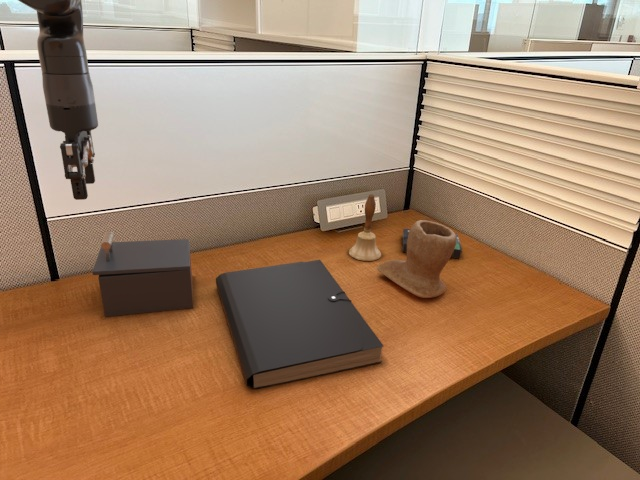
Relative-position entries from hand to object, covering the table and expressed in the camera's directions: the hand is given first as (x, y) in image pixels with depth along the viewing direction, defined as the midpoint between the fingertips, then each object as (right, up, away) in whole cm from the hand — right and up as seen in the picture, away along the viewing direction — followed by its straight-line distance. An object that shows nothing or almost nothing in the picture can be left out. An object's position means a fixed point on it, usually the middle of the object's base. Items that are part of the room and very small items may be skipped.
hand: (85, 190), depth 88 cm
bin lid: (+8, -13, +8) cm, 17 cm away
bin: (+8, -21, +12) cm, 25 cm away
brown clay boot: (+65, -19, +22) cm, 71 cm away
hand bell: (+55, -13, +34) cm, 66 cm away
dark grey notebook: (+37, -25, +6) cm, 45 cm away
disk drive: (+73, -11, +39) cm, 83 cm away
